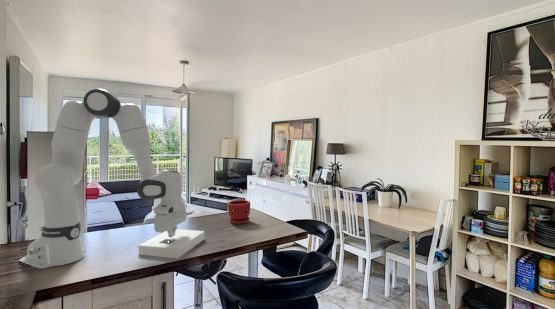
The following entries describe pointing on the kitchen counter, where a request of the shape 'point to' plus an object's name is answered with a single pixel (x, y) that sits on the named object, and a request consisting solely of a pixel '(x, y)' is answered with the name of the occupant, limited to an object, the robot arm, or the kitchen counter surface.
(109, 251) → the kitchen counter surface
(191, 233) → the hole board
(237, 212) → the plant pot
